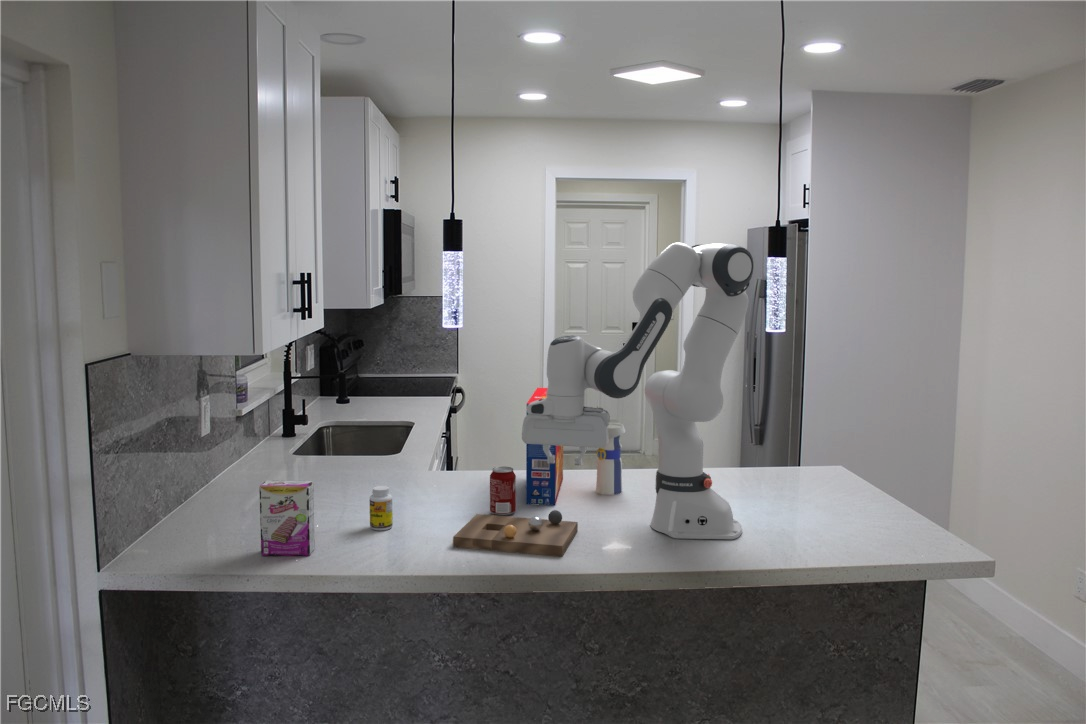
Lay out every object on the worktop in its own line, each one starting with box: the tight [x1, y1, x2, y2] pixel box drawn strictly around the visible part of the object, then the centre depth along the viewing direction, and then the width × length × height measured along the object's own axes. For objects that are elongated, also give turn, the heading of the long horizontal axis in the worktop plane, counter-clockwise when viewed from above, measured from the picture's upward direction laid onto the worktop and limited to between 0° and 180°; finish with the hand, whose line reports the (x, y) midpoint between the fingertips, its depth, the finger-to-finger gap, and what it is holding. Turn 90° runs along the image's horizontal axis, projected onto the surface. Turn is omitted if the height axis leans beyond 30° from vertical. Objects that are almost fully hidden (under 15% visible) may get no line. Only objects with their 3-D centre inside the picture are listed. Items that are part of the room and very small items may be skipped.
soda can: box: [489, 465, 517, 517], centre depth 225 cm, size 7×7×12 cm
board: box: [452, 513, 579, 557], centre depth 205 cm, size 26×18×2 cm
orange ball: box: [504, 525, 517, 538], centre depth 198 cm, size 3×3×3 cm
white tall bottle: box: [595, 406, 626, 496], centre depth 245 cm, size 8×9×25 cm
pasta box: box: [525, 387, 564, 506], centre depth 246 cm, size 28×8×28 cm, turn 174°
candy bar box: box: [259, 480, 316, 557], centre depth 194 cm, size 11×5×16 cm, turn 92°
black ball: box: [547, 509, 563, 524], centre depth 209 cm, size 3×3×3 cm
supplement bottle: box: [369, 485, 394, 532], centre depth 212 cm, size 6×6×10 cm
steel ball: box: [528, 515, 543, 531], centre depth 204 cm, size 3×3×3 cm
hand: (564, 464), depth 200 cm, fingers open, 5 cm apart
